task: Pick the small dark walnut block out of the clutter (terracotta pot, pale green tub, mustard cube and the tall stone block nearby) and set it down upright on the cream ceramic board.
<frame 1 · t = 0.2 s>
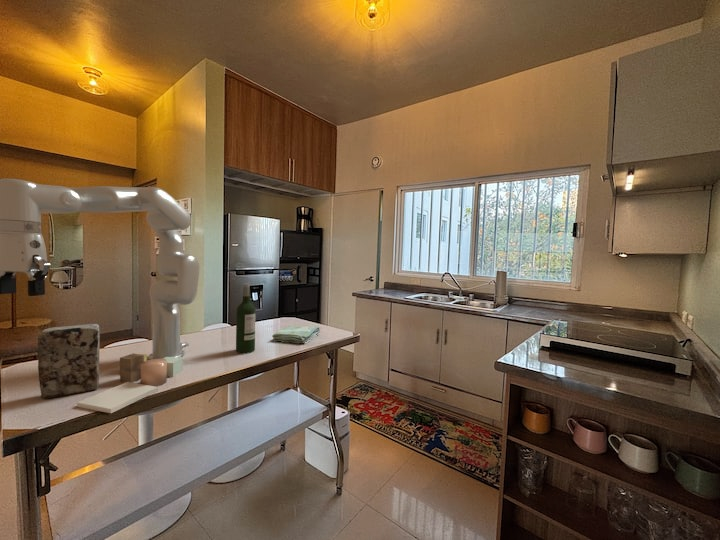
hand: (21, 294, 78), 31 cm above the table, fingers open, 9 cm apart
wine bottle: (245, 351, 133), on the table
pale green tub: (169, 373, 107), on the table
stone block: (71, 393, 90), on the table
cream board: (120, 398, 88), on the table
towel: (296, 338, 157), on the table
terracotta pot: (153, 383, 98), on the table
mustard cube: (135, 369, 109), on the table
walnut block: (132, 379, 100), on the table
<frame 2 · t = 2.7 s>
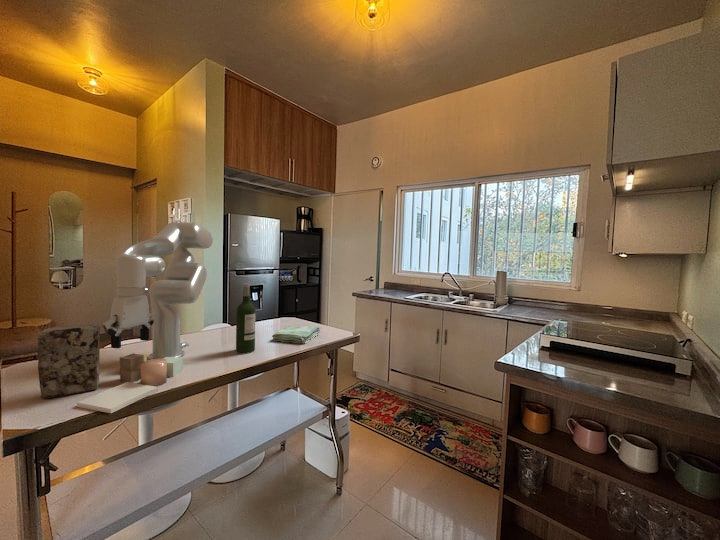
hand: (131, 343, 99), 12 cm above the table, fingers open, 9 cm apart
nothing on the table moved.
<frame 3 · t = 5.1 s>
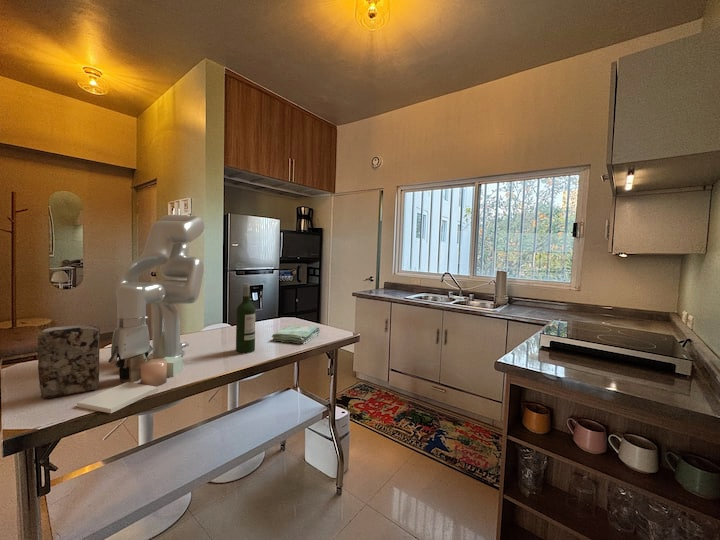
hand: (132, 375, 100), 1 cm above the table, fingers closed on walnut block, 4 cm apart
walnut block: (132, 379, 100), on the table, touching gripper
everything else where it was.
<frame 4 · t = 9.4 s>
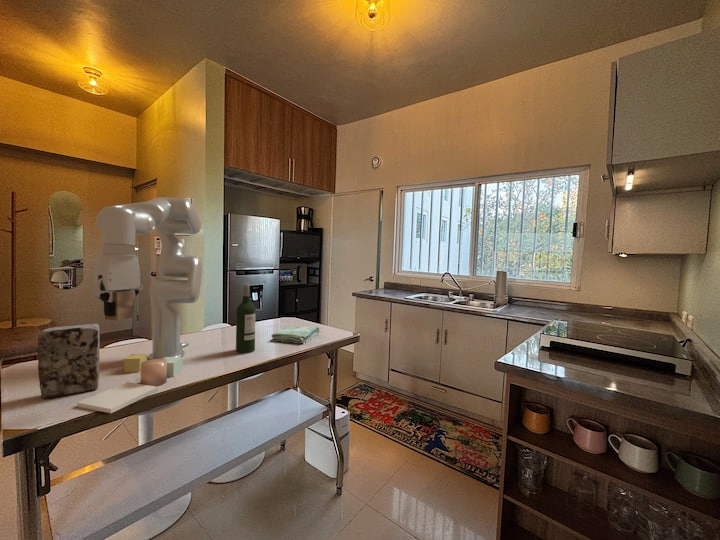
hand: (119, 313, 86), 25 cm above the table, fingers closed on walnut block, 4 cm apart
walnut block: (119, 318, 86), point 24 cm above the table, touching gripper
everything else where it was.
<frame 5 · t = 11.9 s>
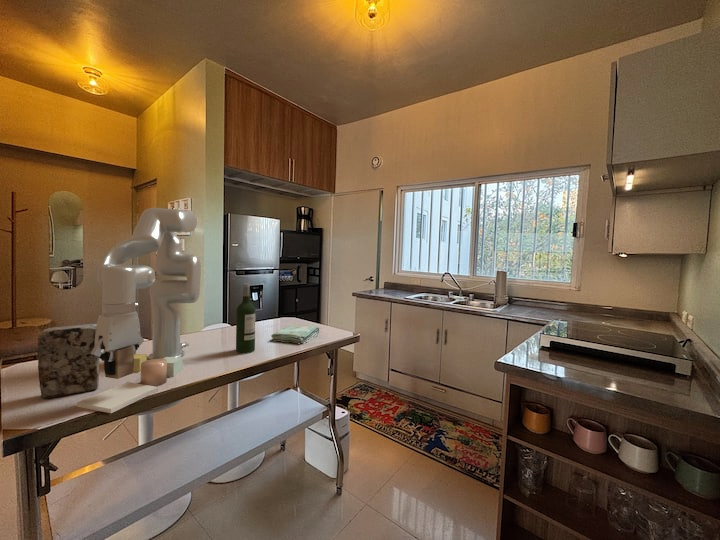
hand: (119, 370, 87), 8 cm above the table, fingers closed on walnut block, 4 cm apart
walnut block: (119, 375, 87), point 7 cm above the table, touching gripper
everything else where it was.
when the fingers open (3 cm above the table, at t = 13.9 s): walnut block stays where it is, resting on cream board.
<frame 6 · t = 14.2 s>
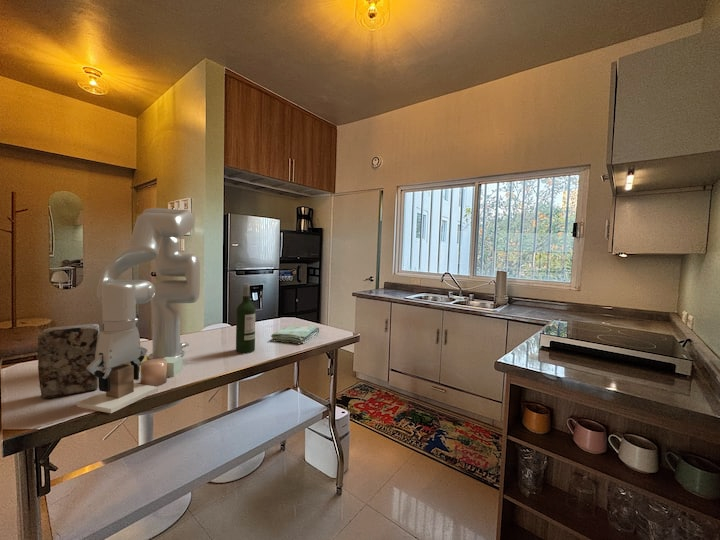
hand: (119, 384, 87), 4 cm above the table, fingers open, 7 cm apart
walnut block: (120, 394, 88), point 1 cm above the table, touching cream board
everything else where it was.
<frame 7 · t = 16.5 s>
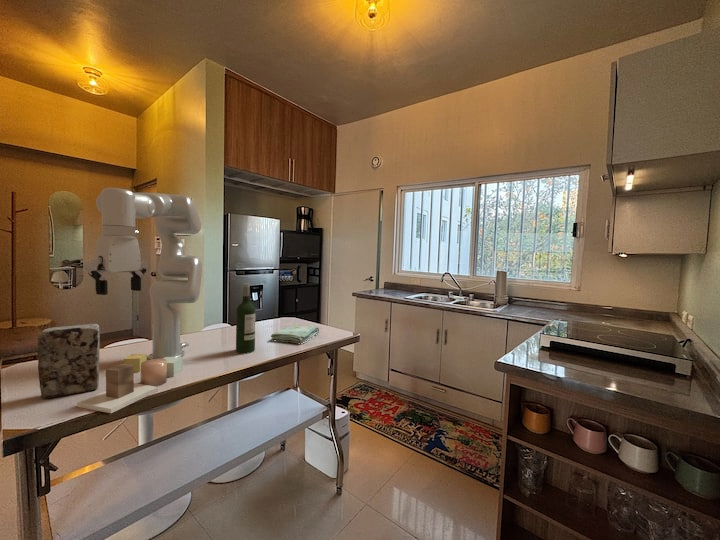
hand: (119, 292, 86), 31 cm above the table, fingers open, 9 cm apart
nothing on the table moved.
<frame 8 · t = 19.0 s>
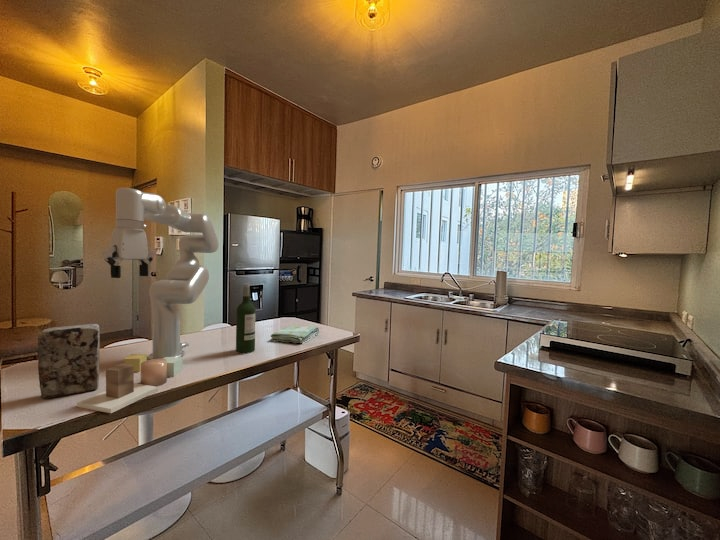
hand: (130, 276, 101), 34 cm above the table, fingers open, 9 cm apart
nothing on the table moved.
at the end: walnut block inside the target area on the cream board (0.1 cm from its centre), point 1.2 cm above the cream board's base; walnut block tilted 0°; the gripper is holding nothing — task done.
